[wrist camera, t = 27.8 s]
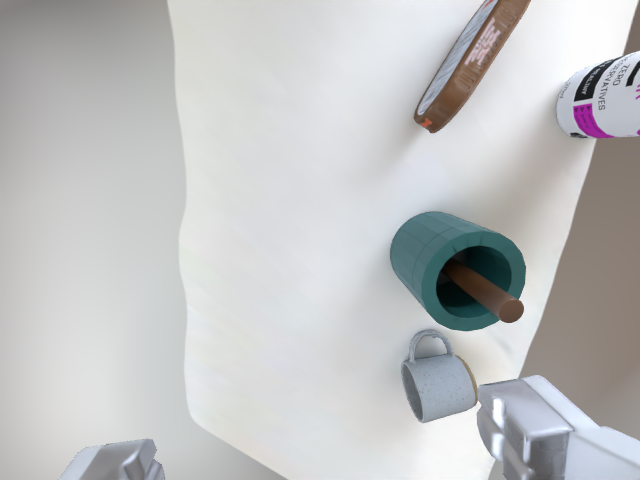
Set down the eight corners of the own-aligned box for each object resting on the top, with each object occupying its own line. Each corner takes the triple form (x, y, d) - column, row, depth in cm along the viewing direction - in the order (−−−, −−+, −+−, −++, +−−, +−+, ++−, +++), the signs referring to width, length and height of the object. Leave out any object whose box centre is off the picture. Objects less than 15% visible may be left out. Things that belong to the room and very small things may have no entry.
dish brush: (418, 232, 41) (493, 279, 25) (454, 238, 41) (549, 288, 26) (408, 268, 42) (474, 334, 27) (444, 274, 43) (528, 341, 27)
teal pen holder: (401, 204, 41) (438, 222, 30) (478, 219, 42) (541, 241, 31) (381, 282, 43) (409, 324, 33) (455, 293, 44) (505, 337, 34)
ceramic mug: (456, 383, 48) (485, 423, 41) (403, 394, 48) (423, 437, 41) (450, 321, 46) (480, 353, 38) (395, 333, 45) (414, 367, 38)
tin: (421, 137, 39) (454, 132, 30) (400, 122, 38) (428, 114, 30) (497, 16, 36) (556, -25, 28) (475, -1, 35) (529, -48, 27)
